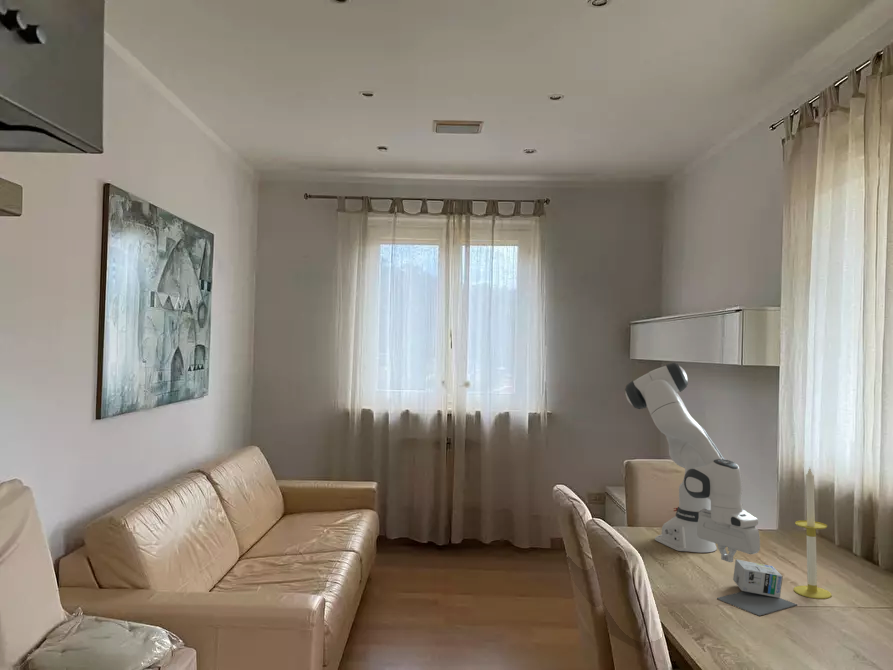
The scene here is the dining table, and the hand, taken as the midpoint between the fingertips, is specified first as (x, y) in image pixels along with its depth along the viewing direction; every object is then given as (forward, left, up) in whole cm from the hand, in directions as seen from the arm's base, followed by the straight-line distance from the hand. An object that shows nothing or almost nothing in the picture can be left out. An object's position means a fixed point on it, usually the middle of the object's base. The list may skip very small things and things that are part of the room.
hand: (727, 560), depth 195 cm
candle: (+12, +21, -9) cm, 26 cm away
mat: (+9, 0, -9) cm, 13 cm away
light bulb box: (+1, +3, -4) cm, 6 cm away
